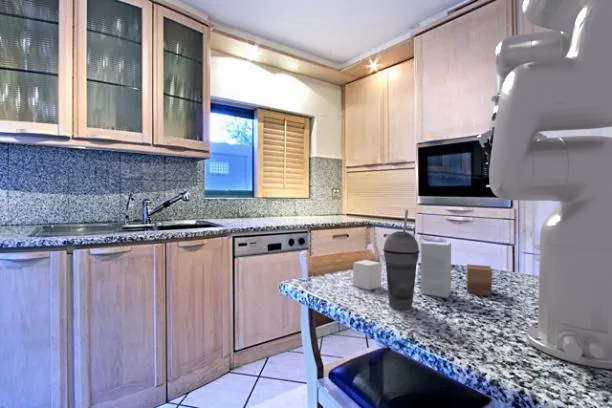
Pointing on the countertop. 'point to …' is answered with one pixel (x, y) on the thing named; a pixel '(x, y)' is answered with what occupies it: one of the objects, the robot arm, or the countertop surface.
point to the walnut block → (479, 279)
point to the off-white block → (367, 274)
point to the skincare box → (436, 269)
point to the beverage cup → (401, 267)
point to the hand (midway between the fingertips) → (511, 170)
